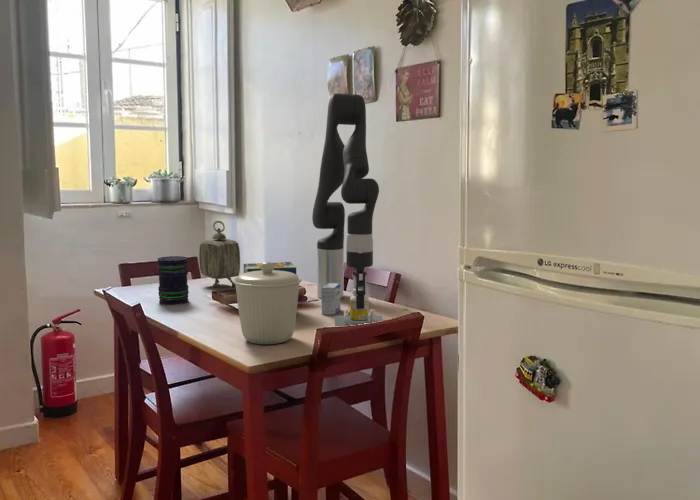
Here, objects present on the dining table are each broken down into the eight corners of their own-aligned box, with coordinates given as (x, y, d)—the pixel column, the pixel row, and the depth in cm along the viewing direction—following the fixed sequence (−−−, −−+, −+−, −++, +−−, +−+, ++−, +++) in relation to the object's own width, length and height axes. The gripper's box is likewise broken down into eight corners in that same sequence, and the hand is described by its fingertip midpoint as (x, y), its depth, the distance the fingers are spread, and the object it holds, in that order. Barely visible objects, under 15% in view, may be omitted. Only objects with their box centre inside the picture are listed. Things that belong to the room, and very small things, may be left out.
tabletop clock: (240, 287, 255) (239, 221, 251) (221, 290, 248) (219, 223, 245) (218, 282, 265) (216, 219, 261) (198, 285, 258) (196, 220, 255)
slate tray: (334, 320, 201) (334, 306, 201) (381, 320, 202) (381, 305, 201) (335, 334, 186) (335, 318, 185) (386, 334, 186) (386, 318, 186)
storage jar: (187, 298, 234) (186, 255, 232) (190, 303, 225) (189, 259, 223) (158, 300, 231) (156, 256, 229) (159, 305, 222) (157, 261, 220)
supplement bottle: (364, 324, 190) (364, 291, 189) (347, 323, 192) (347, 290, 191) (371, 320, 195) (371, 288, 194) (354, 319, 197) (354, 286, 196)
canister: (302, 348, 172) (302, 266, 169) (230, 350, 170) (229, 267, 168) (302, 330, 190) (301, 256, 187) (237, 332, 188) (235, 257, 185)
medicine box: (335, 315, 209) (335, 287, 208) (321, 314, 210) (321, 287, 209) (340, 309, 217) (340, 283, 216) (327, 309, 218) (327, 282, 216)
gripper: (345, 246, 198) (345, 300, 200) (347, 252, 184) (347, 311, 186) (371, 246, 198) (370, 300, 200) (374, 252, 184) (374, 311, 186)
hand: (359, 305), depth 193 cm, fingers open, 8 cm apart
